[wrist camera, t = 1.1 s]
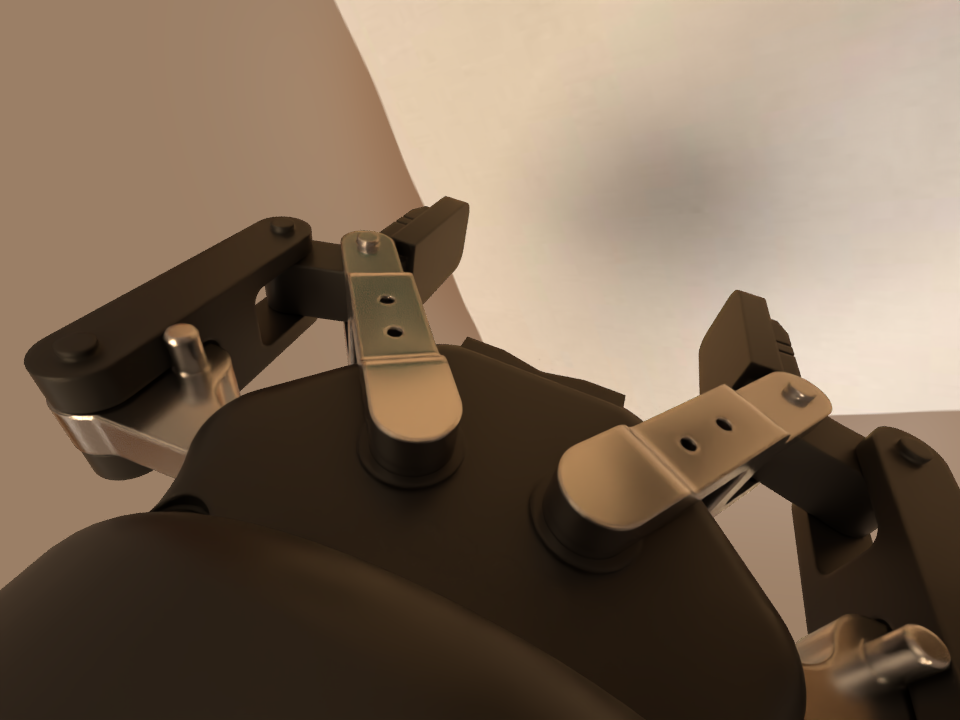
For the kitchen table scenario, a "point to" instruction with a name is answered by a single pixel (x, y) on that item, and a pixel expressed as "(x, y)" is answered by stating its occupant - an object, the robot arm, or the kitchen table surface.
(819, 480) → the robot arm
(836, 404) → the kitchen table surface
